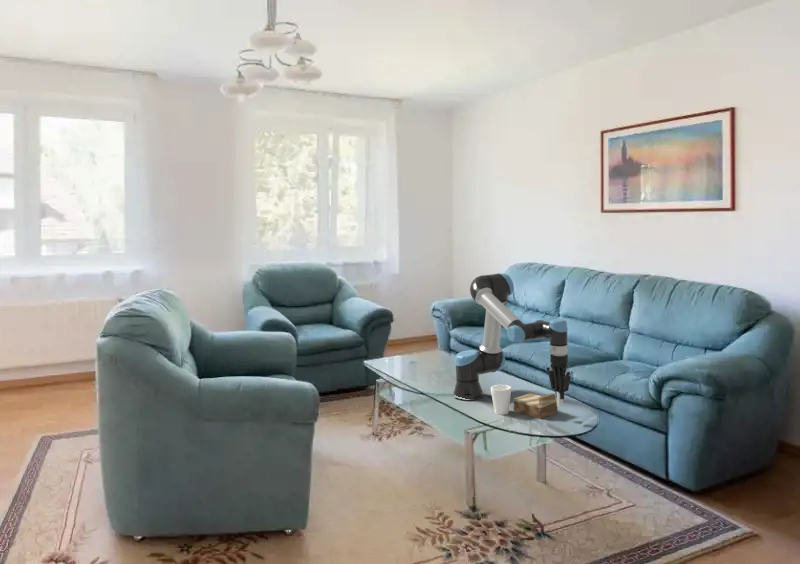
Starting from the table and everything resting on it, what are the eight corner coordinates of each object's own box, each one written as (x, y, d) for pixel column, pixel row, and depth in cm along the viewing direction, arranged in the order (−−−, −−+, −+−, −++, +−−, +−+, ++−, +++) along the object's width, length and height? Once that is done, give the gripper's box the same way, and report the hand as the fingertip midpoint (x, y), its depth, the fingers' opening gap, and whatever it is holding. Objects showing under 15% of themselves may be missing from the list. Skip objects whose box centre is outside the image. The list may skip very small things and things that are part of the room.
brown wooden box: (513, 412, 284) (513, 401, 284) (531, 406, 291) (530, 395, 291) (540, 421, 271) (539, 409, 271) (557, 414, 278) (557, 403, 278)
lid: (513, 400, 284) (513, 391, 283) (530, 395, 291) (530, 386, 290) (539, 408, 271) (539, 398, 270) (557, 402, 278) (557, 393, 277)
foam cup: (498, 419, 277) (497, 391, 275) (487, 413, 285) (486, 386, 284) (515, 415, 281) (515, 388, 279) (504, 409, 289) (503, 383, 287)
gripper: (541, 353, 269) (543, 404, 272) (565, 358, 259) (566, 411, 261) (552, 350, 273) (554, 400, 276) (576, 354, 263) (577, 407, 266)
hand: (560, 405), depth 269 cm, fingers closed
